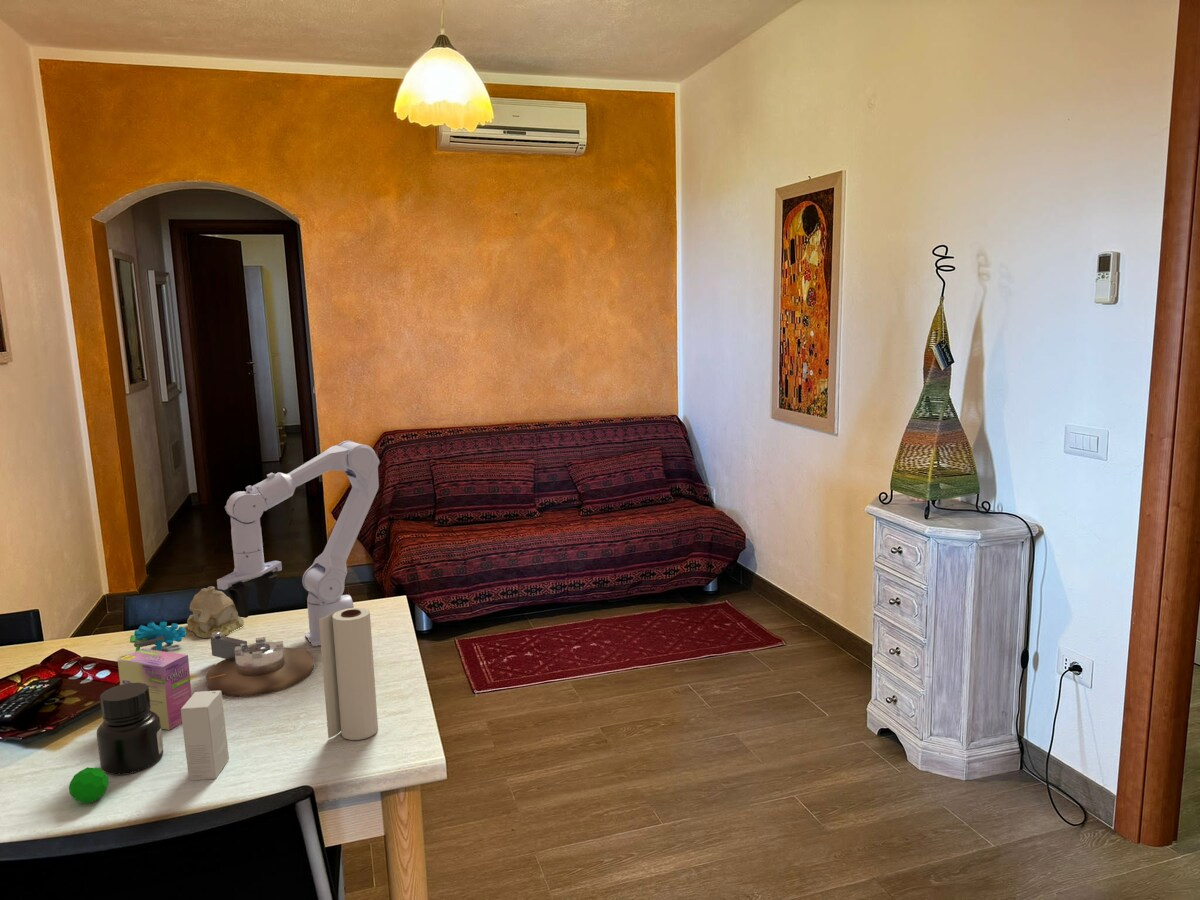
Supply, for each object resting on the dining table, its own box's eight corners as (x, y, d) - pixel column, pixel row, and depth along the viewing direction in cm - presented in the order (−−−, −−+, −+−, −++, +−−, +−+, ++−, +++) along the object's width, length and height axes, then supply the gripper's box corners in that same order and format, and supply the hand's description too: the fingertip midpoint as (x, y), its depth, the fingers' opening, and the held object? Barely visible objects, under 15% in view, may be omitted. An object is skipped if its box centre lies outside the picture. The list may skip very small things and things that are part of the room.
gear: (194, 634, 187) (174, 615, 179) (192, 659, 184) (171, 641, 176) (143, 643, 186) (120, 625, 178) (140, 669, 183) (117, 651, 175)
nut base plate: (301, 646, 183) (301, 639, 183) (325, 679, 166) (324, 671, 166) (200, 668, 172) (199, 661, 172) (214, 706, 156) (213, 697, 155)
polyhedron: (85, 812, 123) (81, 782, 122) (63, 805, 125) (59, 775, 124) (117, 794, 127) (114, 765, 126) (96, 787, 129) (92, 758, 128)
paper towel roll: (384, 725, 147) (376, 607, 143) (367, 742, 141) (358, 619, 137) (346, 722, 148) (337, 605, 145) (328, 739, 142) (318, 617, 139)
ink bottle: (177, 754, 139) (169, 685, 137) (128, 781, 131) (119, 708, 129) (137, 743, 143) (129, 675, 141) (86, 769, 135) (77, 698, 133)
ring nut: (294, 661, 171) (292, 638, 170) (257, 678, 163) (255, 654, 162) (234, 646, 179) (231, 624, 178) (196, 662, 171) (193, 639, 171)
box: (195, 716, 152) (188, 653, 150) (169, 731, 147) (162, 666, 145) (150, 708, 155) (143, 647, 153) (123, 722, 150) (116, 659, 148)
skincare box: (202, 761, 136) (194, 691, 134) (229, 759, 137) (222, 689, 135) (187, 781, 130) (179, 708, 128) (216, 779, 131) (208, 706, 129)
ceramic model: (255, 625, 197) (251, 584, 195) (212, 642, 187) (207, 598, 186) (216, 616, 204) (212, 575, 202) (173, 631, 194) (168, 589, 193)
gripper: (263, 539, 183) (268, 599, 185) (204, 556, 171) (211, 621, 173) (286, 542, 180) (291, 603, 182) (228, 560, 167) (234, 626, 169)
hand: (254, 612), depth 177 cm, fingers open, 5 cm apart
